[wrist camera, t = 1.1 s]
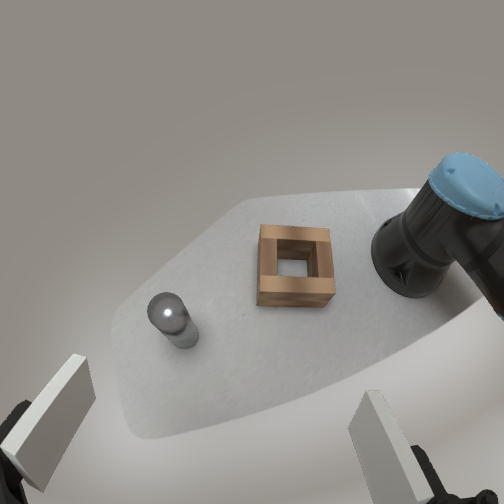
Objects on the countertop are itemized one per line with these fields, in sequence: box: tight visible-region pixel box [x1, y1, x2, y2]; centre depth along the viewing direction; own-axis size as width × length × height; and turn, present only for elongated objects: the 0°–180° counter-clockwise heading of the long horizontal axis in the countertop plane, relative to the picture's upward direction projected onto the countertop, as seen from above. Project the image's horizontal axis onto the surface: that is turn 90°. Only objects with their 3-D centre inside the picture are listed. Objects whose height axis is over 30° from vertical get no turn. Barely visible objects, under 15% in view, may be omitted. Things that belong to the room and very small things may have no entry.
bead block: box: [257, 224, 336, 307], centre depth 42 cm, size 10×10×6 cm
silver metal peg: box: [147, 292, 199, 348], centre depth 34 cm, size 4×4×12 cm
